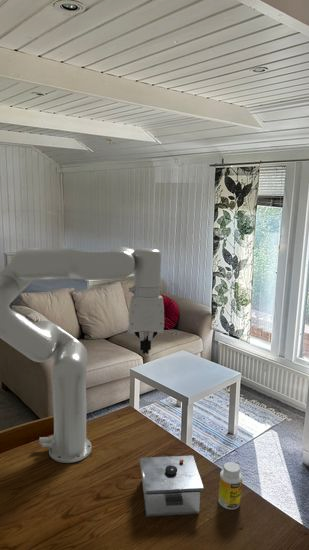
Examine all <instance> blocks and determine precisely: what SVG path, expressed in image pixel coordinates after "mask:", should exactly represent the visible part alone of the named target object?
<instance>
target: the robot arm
mask: <svg viewBox="0 0 309 550" xmlns="http://www.w3.org/2000/svg"><path fill="white" fill-rule="evenodd" d="M161 264H162V253H161V251H160V250H159V249H157V248H151V247H142V248H133V247H127V246H116V247H113V248H112V249H110V251H83V250H79V249H76V248H71V247H61V248H37V247H34V246H27V247H24V248H22V249H20V250H18V251H16V252H15V253H14V254H13V255H12V257H11V259H10V262H8V264H7V265H6V266H5V267H3V269H2V270H1V271H0V339H1V340H3V342H5V343H7V344H8V345H9V346H10V347H12V348H14V349H15V350H16V351H18V352H19V353H20V354H22V355H24V356H25V357H26V358H28V359H29V360H31V361H33V362H36V363H43V362H46V361H48V360H49V359H52V360H53V362H52V367H51V382H52V401H53V402H52V404H53V405H52V406H53V435H50V436H49V437H46V436H42V437H41V436H39V440H38V441H39V442H38V443H39V445H41V448H42V449H43V448H44V449H46V448H48V454H49V456H50V458H51V459H52V460H54V461H56V462H58V463H63V464H64V463H66V464H70V463H72V464H73V463H77V462H80V461H82V460H83V459H85V458H87V457H88V456H89V455H90V454H91V452H92V442H91V441H90V440H89V439H88V438H87V365H88V351H87V347H86V346H85V345H84V344H83V343H82V342H81V341H79V340H78V339H77V338H76V337H74V336H73V335H72V334H70V333H68V331H65V330H64V329H63V328H62V327H60V326H59V325H57V324H56V323H54V322H52V321H48V320H39V321H36V322H32V321H31V320H29V319H28V318H27V317H26V316H24V315H23V314H21V313H19V312H17V311H14V310H13V309H11V307H10V306H11V303H12V302H13V301H14V300H15V299H17V297H18V296H19V295H20V294H21V293H22V292H23V291H24V290H25V289H26V288H27V287H28V286H29V285H30V284H31V283H32V282H33V281H45V280H63V279H64V280H65V279H69V280H70V279H72V280H86V281H87V280H88V281H105V280H119V279H124V278H128V277H129V276H131V274H132V273H133V285H132V286H131V287H128V293H132V295H131V297H130V302H129V310H128V327H127V334H129V335H134V336H136V337H137V338H138V339H139V340H140V342H139V343H140V345H139V346H140V347H139V350H140V351H142V354H143V355H145V354H146V355H149V352H150V351H151V348H152V340H153V339H154V338H155V337H156V336H157V335H161V334H164V333H165V329H164V328H165V305H164V297H163V296H162V295H161V273H162V272H161V271H162V270H161V268H162V267H161V266H162V265H161ZM146 332H147V334H146V337H145V335H144V333H146Z"/></svg>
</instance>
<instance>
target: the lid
mask: <svg viewBox="0 0 309 550" xmlns="http://www.w3.org/2000/svg"><path fill="white" fill-rule="evenodd" d="M139 465H140V473H141V482H143V484H142V491H144V492H143V495H144V494H146V493H165V492H183V491H200V492H201V491H204V490H205V489H204V487H205V486H204V484H203V481H202V478H201V476H200V473H199V470H198V467H197V466H198V465H197V463H196V461H195V457H194V455H174V456H153V457H139Z"/></svg>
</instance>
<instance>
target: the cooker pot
mask: <svg viewBox="0 0 309 550" xmlns="http://www.w3.org/2000/svg"><path fill="white" fill-rule="evenodd" d="M141 482H142V481H141ZM141 484H142V485H143V482H142V483H141ZM142 491H143V490H142ZM143 499H144V507H145V508H144V509H145V515H146V516H145V517H147V518H148V517H162V516H163V517H164V516H177V515H178V516H180V515H195V514H198V515H199V514H200V505H201V504H200V503H201V491H183V492H165V493H146V494H144V491H143Z"/></svg>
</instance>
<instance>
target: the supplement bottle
mask: <svg viewBox="0 0 309 550" xmlns="http://www.w3.org/2000/svg"><path fill="white" fill-rule="evenodd" d="M242 485H243V474H242V473H241V468H240V465H239V464H237V463H236V462H233V461H228V462H225V463H224V464H223V469H221V471H220V473H219V487H218V489H219V490H218V499H217V500H218V503H219V505H220V506H221V507H223V508H225V509H227V510H236V509H238V508H239V507H240V505H241V501H242V500H241V499H242V488H243V486H242Z"/></svg>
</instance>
